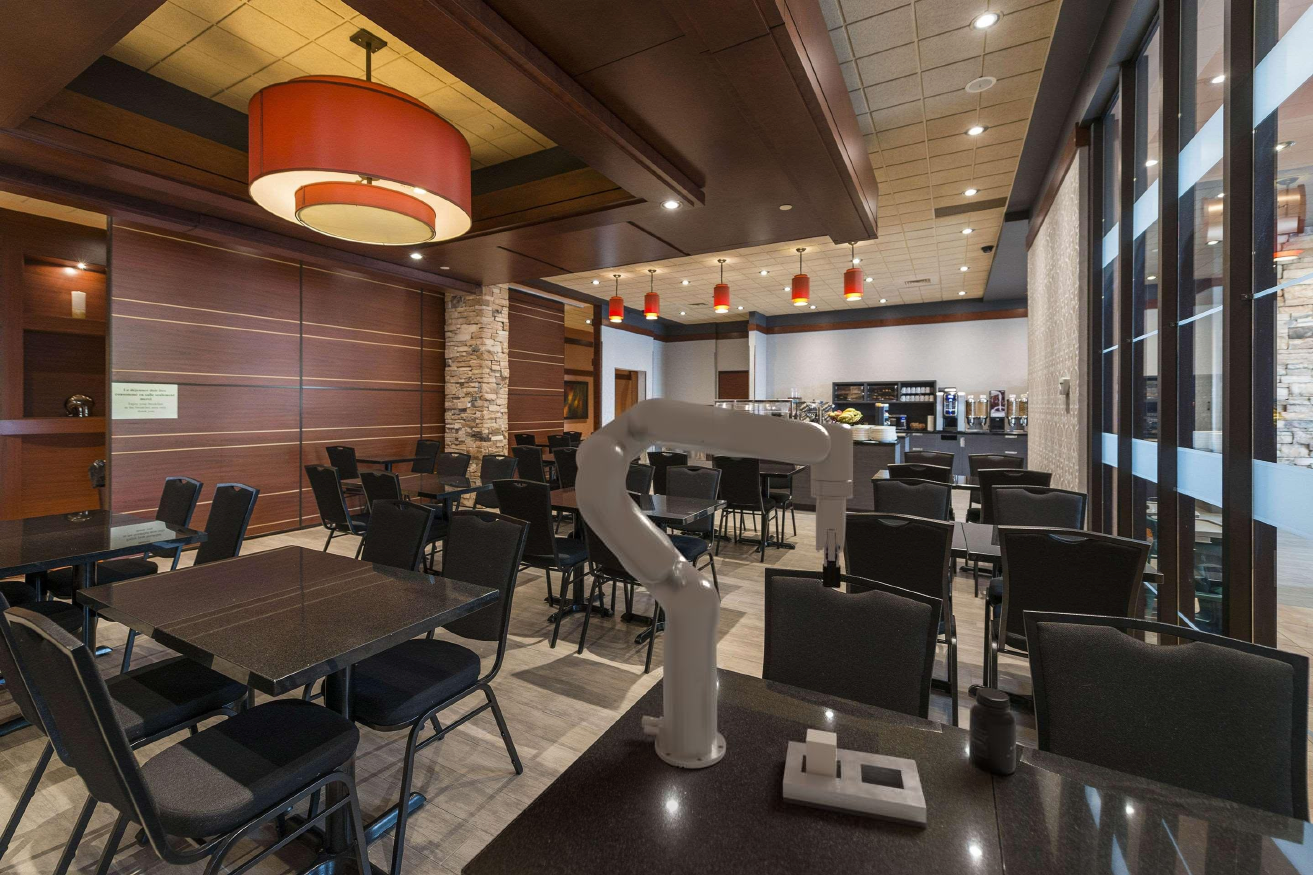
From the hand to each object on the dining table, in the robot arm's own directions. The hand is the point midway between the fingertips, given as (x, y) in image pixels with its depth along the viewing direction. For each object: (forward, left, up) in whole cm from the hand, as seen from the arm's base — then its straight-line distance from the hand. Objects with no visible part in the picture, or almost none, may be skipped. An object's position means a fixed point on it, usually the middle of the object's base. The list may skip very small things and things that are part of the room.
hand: (831, 586), depth 108 cm
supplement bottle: (+26, -4, -27) cm, 38 cm away
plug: (-2, -18, -26) cm, 32 cm away
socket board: (+3, -18, -27) cm, 33 cm away
